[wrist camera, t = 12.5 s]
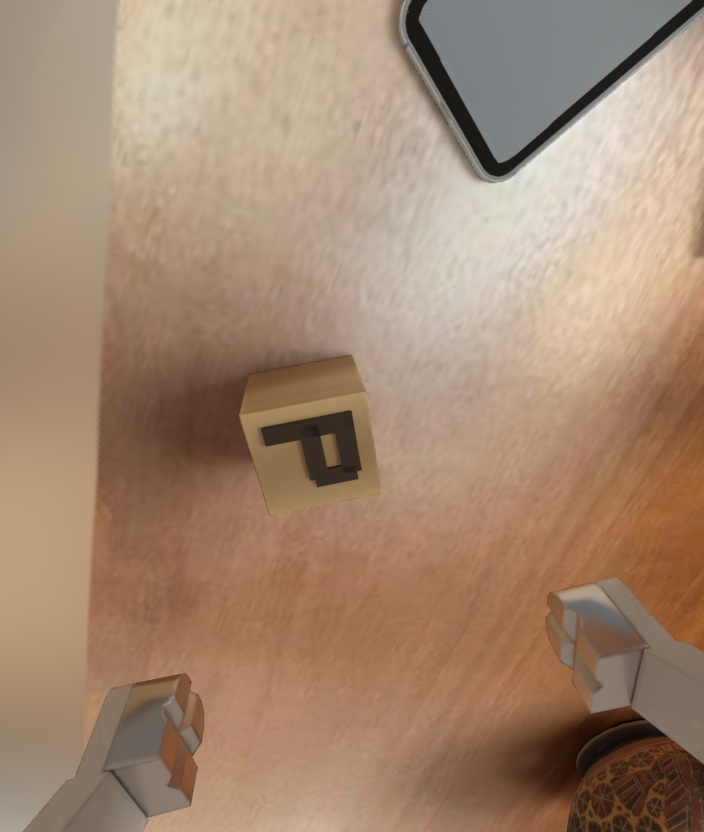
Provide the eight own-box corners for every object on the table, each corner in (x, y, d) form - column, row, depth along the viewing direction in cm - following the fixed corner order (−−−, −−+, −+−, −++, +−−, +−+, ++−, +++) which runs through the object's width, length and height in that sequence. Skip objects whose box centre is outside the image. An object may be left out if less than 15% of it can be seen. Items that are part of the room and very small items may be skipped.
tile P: (248, 374, 21) (237, 417, 16) (352, 354, 21) (367, 392, 17) (273, 461, 23) (269, 518, 19) (366, 443, 23) (382, 495, 19)
